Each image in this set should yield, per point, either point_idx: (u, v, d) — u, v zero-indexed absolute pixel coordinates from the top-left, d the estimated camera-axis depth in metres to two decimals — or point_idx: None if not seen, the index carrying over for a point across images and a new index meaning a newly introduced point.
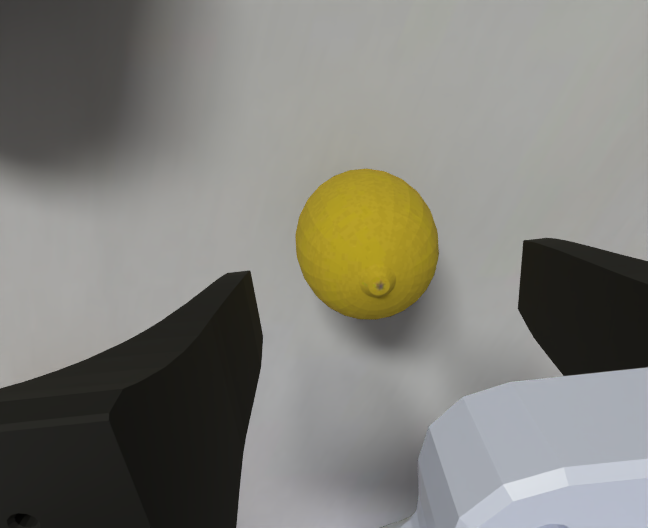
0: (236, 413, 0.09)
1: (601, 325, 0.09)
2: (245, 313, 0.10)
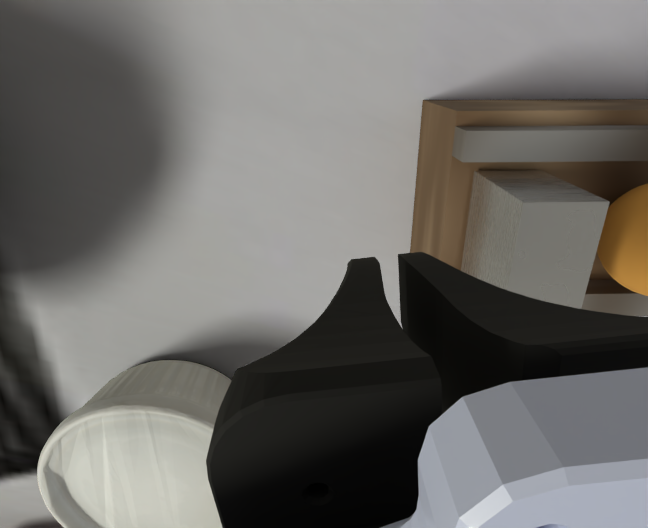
0: None
1: (438, 342, 0.09)
2: None
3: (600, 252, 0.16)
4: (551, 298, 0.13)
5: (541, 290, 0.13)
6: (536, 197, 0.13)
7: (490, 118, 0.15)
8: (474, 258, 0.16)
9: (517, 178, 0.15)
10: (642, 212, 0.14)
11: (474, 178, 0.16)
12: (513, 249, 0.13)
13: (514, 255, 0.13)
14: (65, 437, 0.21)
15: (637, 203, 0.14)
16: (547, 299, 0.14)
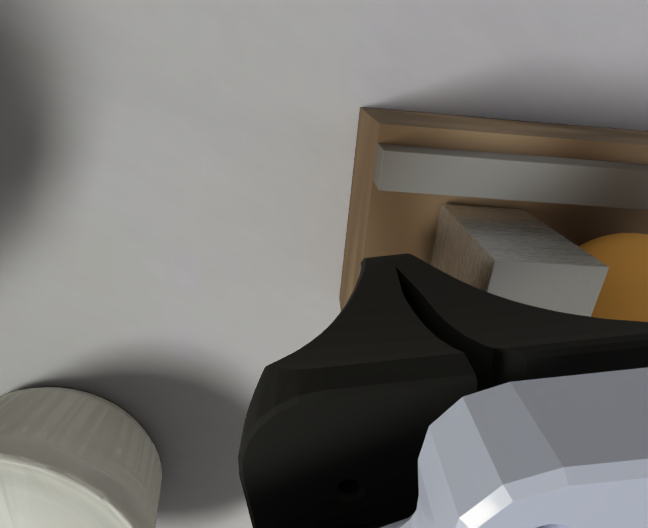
0: None
1: None
2: None
3: None
4: None
5: None
6: (513, 252, 0.10)
7: (422, 136, 0.12)
8: None
9: (493, 219, 0.12)
10: None
11: (441, 213, 0.13)
12: None
13: None
14: None
15: None
16: None
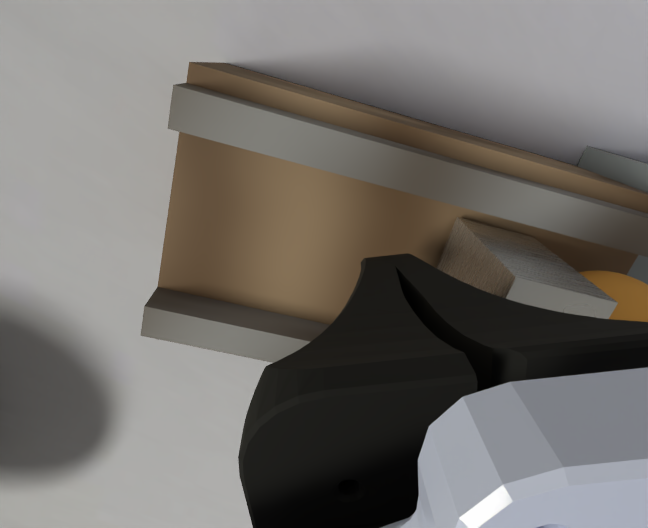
0: None
1: None
2: None
3: None
4: None
5: None
6: (530, 273, 0.10)
7: (234, 86, 0.11)
8: None
9: (506, 240, 0.12)
10: None
11: (455, 226, 0.13)
12: None
13: None
14: None
15: None
16: None
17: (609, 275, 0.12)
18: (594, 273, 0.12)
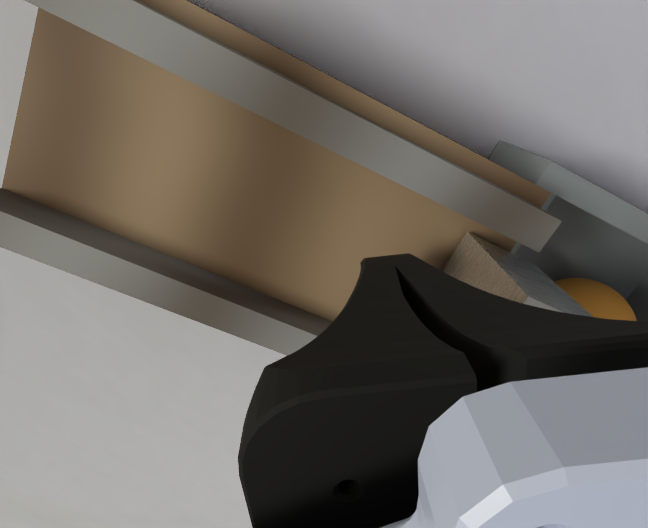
0: None
1: None
2: None
3: None
4: None
5: None
6: (539, 295, 0.10)
7: None
8: None
9: (513, 262, 0.12)
10: (604, 317, 0.16)
11: (463, 240, 0.13)
12: None
13: None
14: None
15: (597, 306, 0.16)
16: None
17: None
18: None
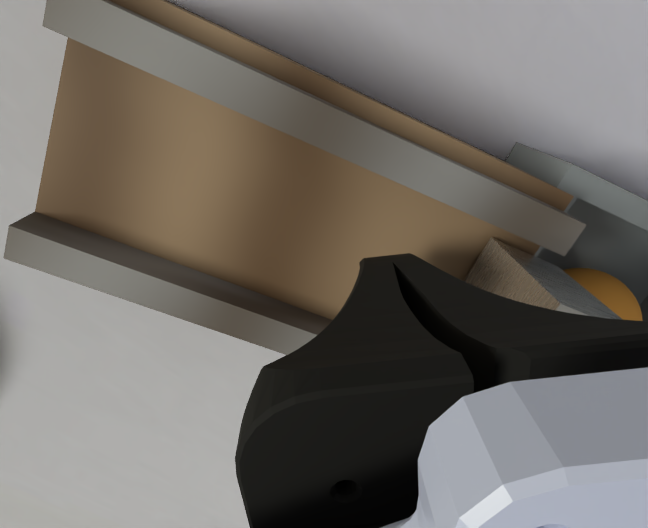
0: None
1: None
2: None
3: None
4: None
5: None
6: (570, 301, 0.10)
7: None
8: None
9: (539, 266, 0.12)
10: None
11: (488, 245, 0.13)
12: None
13: None
14: None
15: (581, 285, 0.16)
16: None
17: None
18: None
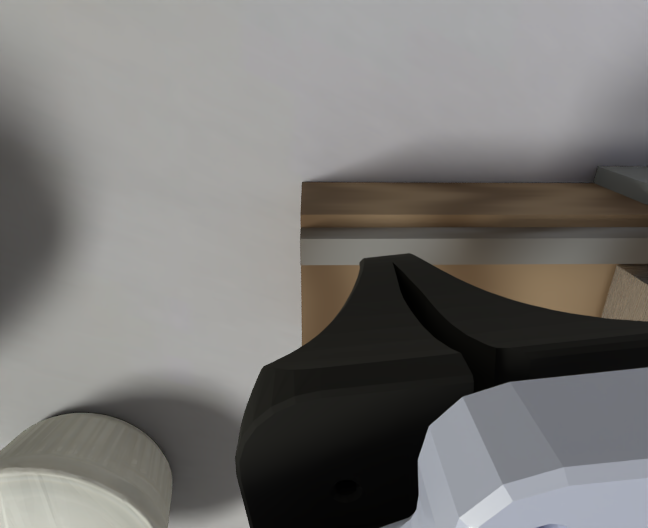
0: None
1: None
2: None
3: None
4: None
5: None
6: None
7: (332, 221, 0.17)
8: None
9: None
10: None
11: (616, 272, 0.18)
12: None
13: None
14: None
15: None
16: None
17: None
18: None
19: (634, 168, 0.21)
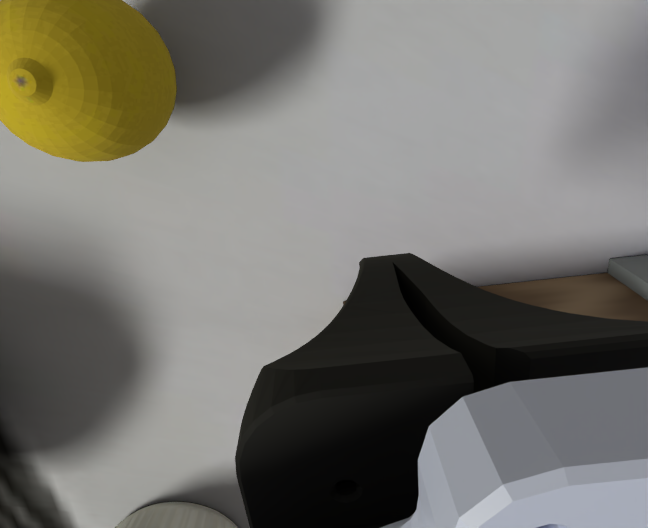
0: None
1: None
2: None
3: None
4: None
5: None
6: None
7: None
8: None
9: None
10: None
11: None
12: None
13: None
14: None
15: None
16: None
17: None
18: None
19: (644, 259, 0.23)
